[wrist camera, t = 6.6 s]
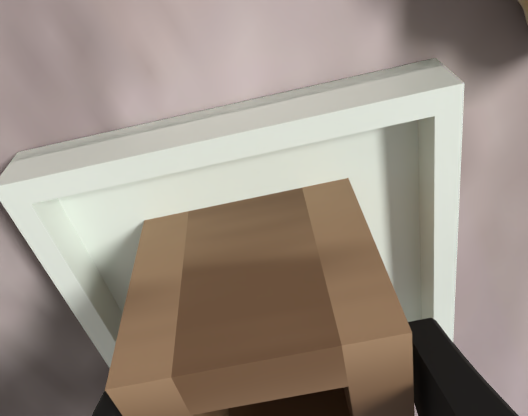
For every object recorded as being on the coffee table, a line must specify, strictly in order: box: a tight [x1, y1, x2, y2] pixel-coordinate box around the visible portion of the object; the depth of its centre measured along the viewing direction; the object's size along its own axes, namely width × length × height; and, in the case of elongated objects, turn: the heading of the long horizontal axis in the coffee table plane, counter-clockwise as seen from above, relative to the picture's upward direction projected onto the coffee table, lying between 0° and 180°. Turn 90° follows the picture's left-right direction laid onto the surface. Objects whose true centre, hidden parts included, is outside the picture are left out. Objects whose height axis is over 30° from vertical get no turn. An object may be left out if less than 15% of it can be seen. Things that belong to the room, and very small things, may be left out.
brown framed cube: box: [105, 178, 414, 416], centre depth 12 cm, size 5×5×5 cm
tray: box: [0, 58, 464, 368], centre depth 14 cm, size 10×10×2 cm
